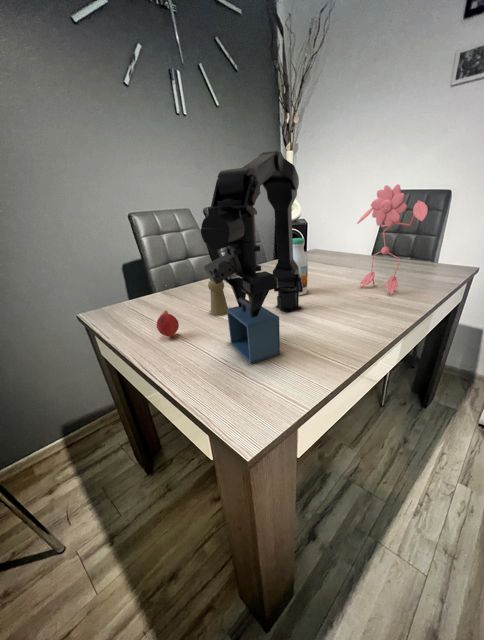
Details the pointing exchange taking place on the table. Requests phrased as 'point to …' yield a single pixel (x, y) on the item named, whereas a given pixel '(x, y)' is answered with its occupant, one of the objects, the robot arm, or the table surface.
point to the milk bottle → (300, 261)
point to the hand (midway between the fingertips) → (247, 311)
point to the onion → (167, 324)
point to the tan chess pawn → (217, 298)
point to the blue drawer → (254, 332)
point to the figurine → (390, 223)
